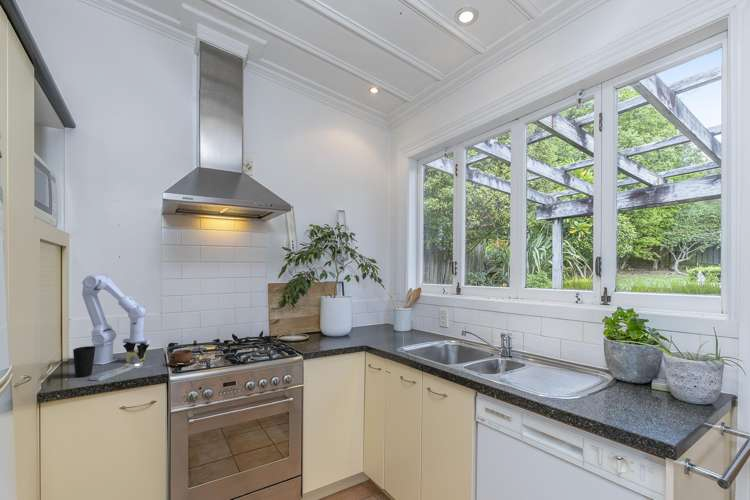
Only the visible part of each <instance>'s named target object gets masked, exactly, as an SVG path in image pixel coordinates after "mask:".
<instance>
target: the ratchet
mask: <svg viewBox="0 0 750 500" xmlns="http://www.w3.org/2000/svg"><path fill="white" fill-rule="evenodd" d="M143 363H144V361H139V356H133V357H130V362H125V364H124V365H122V366H121V367H116V368H114V369H112V370H106V371H103V372H99V373H97V374H94V375H90V381H93V380H96V382H101V381H104V380H107V379H109V378H112V377H115V376H117V375H120V374H123V373H125V372H129V371H131V370H137V369H140V368H143V365H144V364H143Z"/></svg>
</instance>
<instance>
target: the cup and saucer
mask: <svg viewBox="0 0 750 500" xmlns="http://www.w3.org/2000/svg"><path fill="white" fill-rule="evenodd" d="M192 352H193V351H192V350H191V349H183V350H176V351H175V352H174V354H169V356H168V361H169V362H168V364H169V365H171V366H174V367H177V366H176V365H185V366H189V365H192V364H194V363H195V362H196V361H197V357H194V356H192ZM171 357H174V358H172V359H171ZM191 358H192V359H194V361H193V362H190V360H191ZM173 361H175V363H184V364H173Z"/></svg>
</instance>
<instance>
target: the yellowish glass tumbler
mask: <svg viewBox="0 0 750 500" xmlns="http://www.w3.org/2000/svg"><path fill="white" fill-rule="evenodd" d="M146 351H147V350H146ZM146 351H145V354H144V357H143V358H142V359H139V361H142V362H144V361H145V360H146ZM133 356H139V353H138V348H134V350H132V351H128V352H127V351H126V357H125V358H126V359H125V360H126V362H125V363H128V362H130V357H133Z"/></svg>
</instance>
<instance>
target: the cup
mask: <svg viewBox="0 0 750 500" xmlns="http://www.w3.org/2000/svg"><path fill="white" fill-rule="evenodd" d="M95 348H96V347H94V346H92V345H88V346H80V347H76V348H74V349H72V353H73V354H72V355H73V364H74V366H73V368H74V377H75V378H78V379H80V378H85V377H86V378H87V377H91V376H92V374H93V367H94V364H93V362H94V355H95Z"/></svg>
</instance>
